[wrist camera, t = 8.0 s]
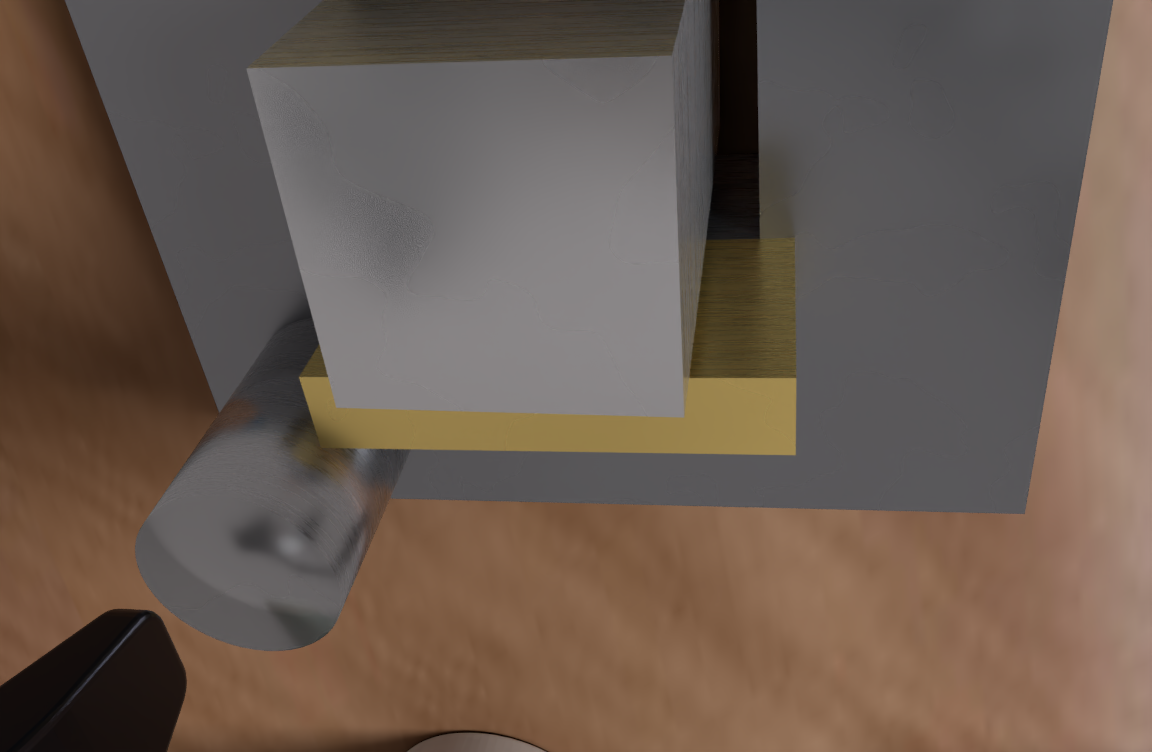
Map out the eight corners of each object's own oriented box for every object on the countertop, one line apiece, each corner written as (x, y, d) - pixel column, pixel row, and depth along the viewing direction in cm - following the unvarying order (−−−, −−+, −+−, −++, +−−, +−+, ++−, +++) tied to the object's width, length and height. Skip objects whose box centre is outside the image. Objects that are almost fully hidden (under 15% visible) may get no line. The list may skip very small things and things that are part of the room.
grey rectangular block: (718, -133, 16) (671, 54, 9) (719, 126, 18) (684, 418, 12) (454, -117, 17) (246, 68, 10) (488, 130, 19) (336, 407, 12)
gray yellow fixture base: (1169, -812, 11) (1595, -1253, 5) (997, 405, 21) (1083, 743, 15) (-7, -590, 14) (-596, -718, 8) (305, 400, 23) (137, 685, 17)
